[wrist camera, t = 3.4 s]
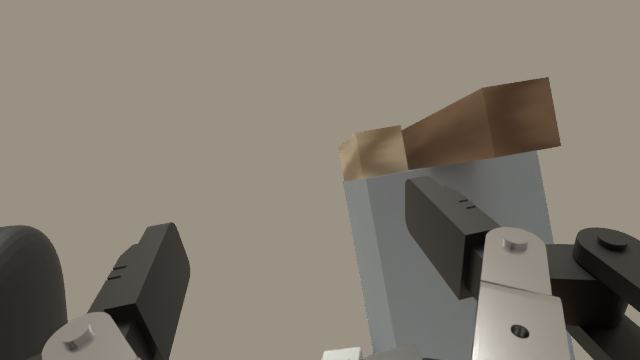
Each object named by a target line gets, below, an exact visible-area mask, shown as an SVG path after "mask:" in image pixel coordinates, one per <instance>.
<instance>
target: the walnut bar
mask: <svg viewBox="0 0 640 360" xmlns="http://www.w3.org/2000/svg"><path fill="white" fill-rule="evenodd" d="M402 137H403V142H404V148H405V153H406V159H407V164H408V170H415V169H422V168H428V167H435V166H442V165H449V164H456V163H463V162H470V161H477V160H483V159H490V158H497V157H502V156H508V155H513V154H519V153H525V152H530V151H536V150H541V149H547V148H552V147H558V146H561V143H560V138H559V132H558V127H557V121H556V116H555V111H554V105H553V100H552V94H551V89H550V83H549V78H548V77H546V78H540V79H534V80H528V81H522V82H515V83H509V84H503V85H497V86H491V87H485V88H481V89H479V90H477V91H475V92H474V93H472V94H470V95H468V96H466V97H464V98H462V99H460V100H458V101H457V102H455V103H453V104H451V105H449V106H447V107H445V108H444V109H442V110H440V111H438V112H436V113H434V114H432V115H430V116H428V117H426V118H425V119H423V120H421V121H419V122H417V123H415V124H413V125H411V126H409V127H407V128H406V129H404V130H402Z"/></svg>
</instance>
